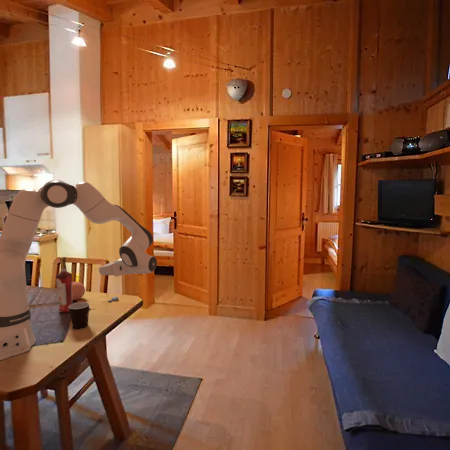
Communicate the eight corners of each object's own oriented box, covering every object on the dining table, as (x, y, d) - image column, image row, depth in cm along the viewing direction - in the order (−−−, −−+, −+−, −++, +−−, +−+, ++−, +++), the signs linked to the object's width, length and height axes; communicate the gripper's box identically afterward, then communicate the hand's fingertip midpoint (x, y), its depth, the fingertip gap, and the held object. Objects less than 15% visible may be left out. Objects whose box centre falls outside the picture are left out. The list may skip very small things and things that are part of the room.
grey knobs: (82, 313, 165) (81, 311, 165) (77, 312, 167) (77, 309, 167) (119, 299, 185) (119, 297, 185) (115, 298, 187) (115, 296, 187)
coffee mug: (82, 331, 145) (81, 309, 144) (65, 329, 147) (64, 308, 146) (98, 320, 156) (97, 300, 155) (81, 319, 158) (80, 299, 157)
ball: (65, 304, 182) (79, 300, 178) (58, 288, 181) (72, 283, 178) (78, 297, 191) (91, 293, 188) (71, 281, 190) (84, 277, 187)
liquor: (55, 312, 167) (51, 258, 163) (67, 307, 173) (64, 255, 170) (64, 314, 163) (60, 259, 160) (77, 309, 170) (74, 256, 166)
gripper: (141, 253, 168) (121, 254, 174) (111, 264, 150) (89, 265, 157) (143, 265, 169) (123, 265, 175) (113, 277, 151) (92, 277, 157)
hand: (107, 265), depth 166 cm, fingers closed
